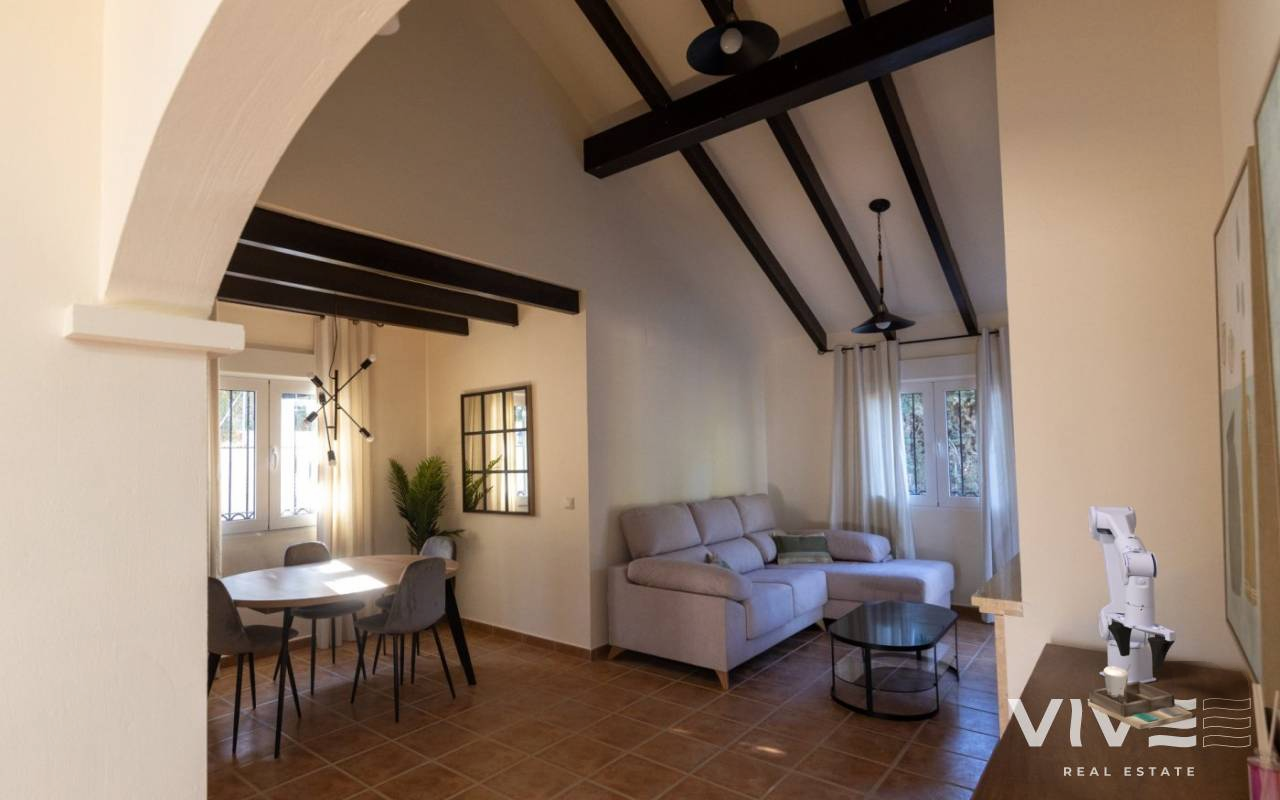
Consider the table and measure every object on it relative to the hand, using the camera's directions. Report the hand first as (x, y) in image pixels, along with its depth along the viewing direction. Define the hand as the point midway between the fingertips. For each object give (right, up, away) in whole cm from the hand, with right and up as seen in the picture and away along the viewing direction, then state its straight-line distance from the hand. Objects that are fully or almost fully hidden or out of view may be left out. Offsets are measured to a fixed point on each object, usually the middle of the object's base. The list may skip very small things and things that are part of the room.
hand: (1141, 661), depth 155 cm
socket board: (-3, -10, -4) cm, 11 cm away
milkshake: (-8, -9, -4) cm, 13 cm away
